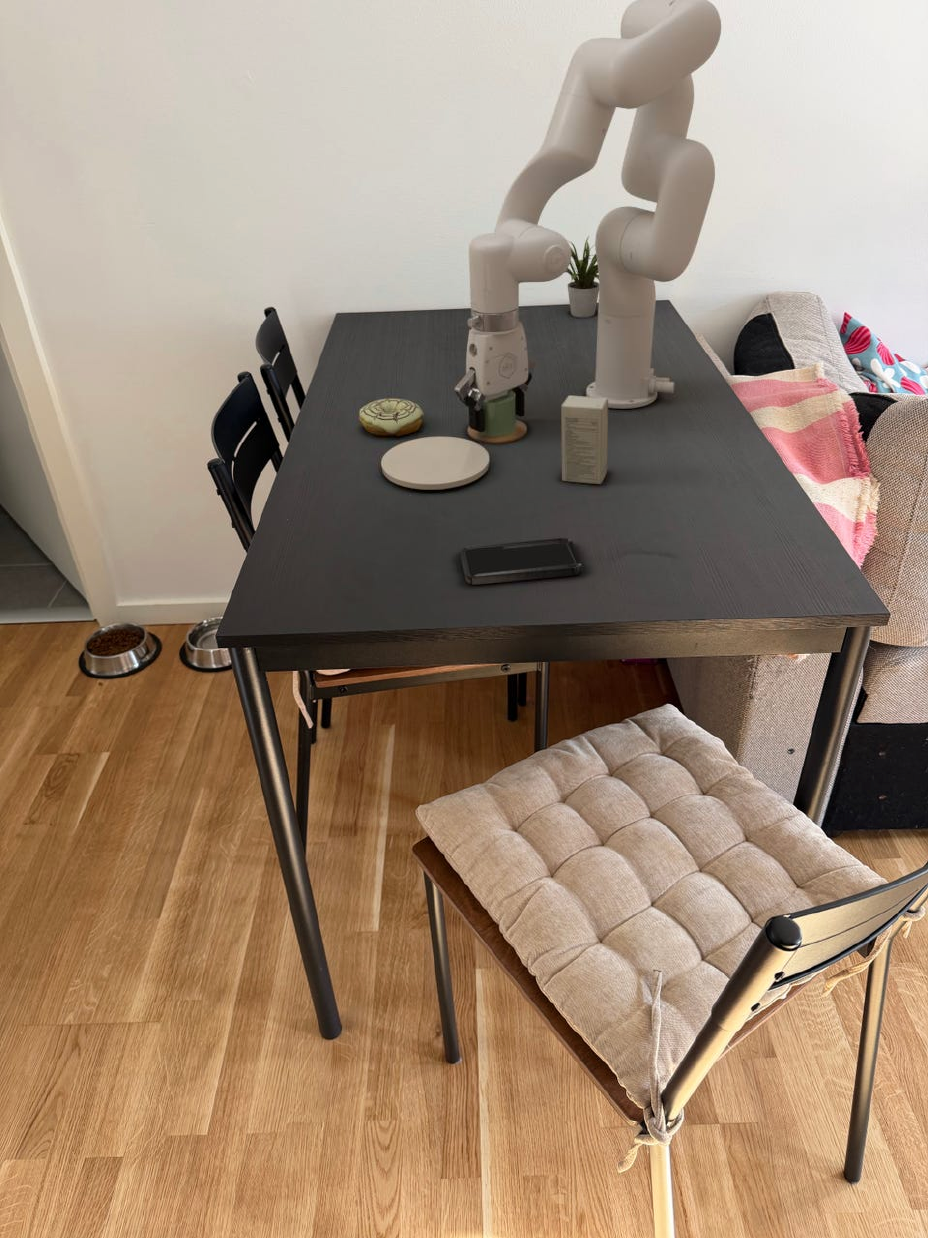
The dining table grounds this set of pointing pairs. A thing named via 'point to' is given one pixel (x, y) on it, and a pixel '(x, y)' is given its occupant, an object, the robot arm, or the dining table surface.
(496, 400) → the sage green cylinder
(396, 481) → the plate
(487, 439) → the coaster
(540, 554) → the phone
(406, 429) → the decorated donut
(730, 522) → the dining table surface
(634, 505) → the dining table surface
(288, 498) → the dining table surface
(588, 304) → the house plant
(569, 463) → the cosmetic box
